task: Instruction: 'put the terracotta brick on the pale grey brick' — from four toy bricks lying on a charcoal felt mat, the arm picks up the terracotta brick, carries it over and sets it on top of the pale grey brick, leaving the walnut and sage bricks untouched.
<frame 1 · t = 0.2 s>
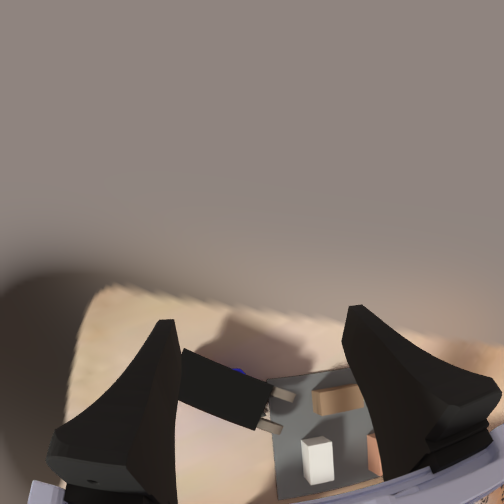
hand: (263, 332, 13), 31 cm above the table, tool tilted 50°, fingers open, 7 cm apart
felt mat: (341, 431, 39), on the table
pale grey brick: (313, 456, 38), resting on felt mat
terracotta brick: (377, 449, 38), resting on felt mat
walnut brick: (332, 397, 41), resting on felt mat
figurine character: (231, 390, 40), on the table, touching felt mat
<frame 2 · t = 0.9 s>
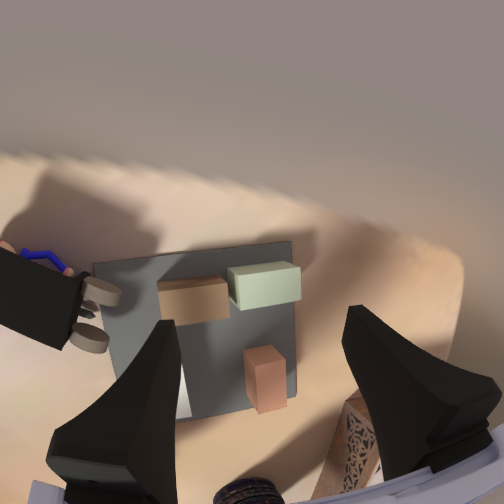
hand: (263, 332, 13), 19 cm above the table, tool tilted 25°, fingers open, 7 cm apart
felt mat: (204, 342, 32), on the table
pale grey brick: (167, 375, 31), resting on felt mat
sage brick: (256, 279, 33), resting on felt mat
terracotta brick: (258, 370, 34), resting on felt mat
walnut brick: (189, 294, 31), resting on felt mat
tissue box cover: (358, 454, 43), on the table
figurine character: (49, 281, 26), on the table, touching felt mat
storage jar: (244, 496, 37), on the table
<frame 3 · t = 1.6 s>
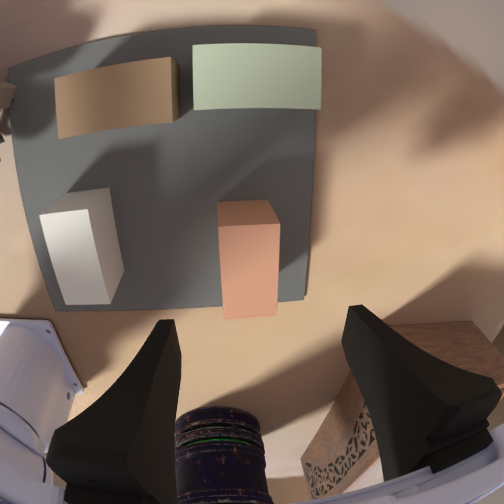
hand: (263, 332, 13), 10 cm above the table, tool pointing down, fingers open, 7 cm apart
felt mat: (153, 181, 19), on the table
pale grey brick: (95, 232, 20), resting on felt mat
sage brick: (249, 80, 17), resting on felt mat
terracotta brick: (243, 243, 21), resting on felt mat
walnut brick: (130, 96, 16), resting on felt mat
tissue box cover: (380, 400, 34), on the table
storage jar: (216, 428, 32), on the table
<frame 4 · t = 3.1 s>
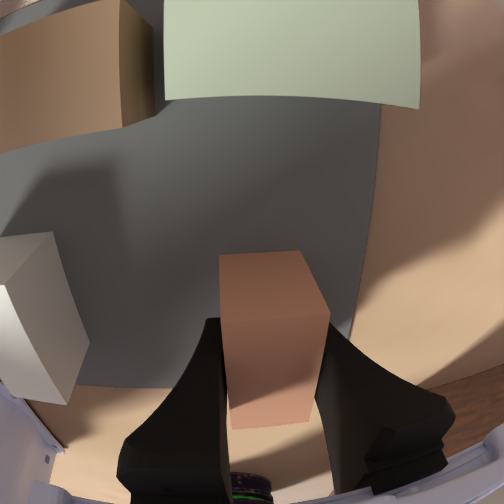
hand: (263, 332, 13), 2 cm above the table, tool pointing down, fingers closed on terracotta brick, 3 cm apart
felt mat: (117, 222, 12), on the table
pale grey brick: (43, 293, 12), resting on felt mat
sage brick: (274, 51, 9), resting on felt mat
terracotta brick: (259, 313, 14), resting on felt mat, touching gripper
walnut brick: (73, 85, 9), resting on felt mat
tissue box cover: (407, 449, 27), on the table
storage jar: (221, 486, 25), on the table
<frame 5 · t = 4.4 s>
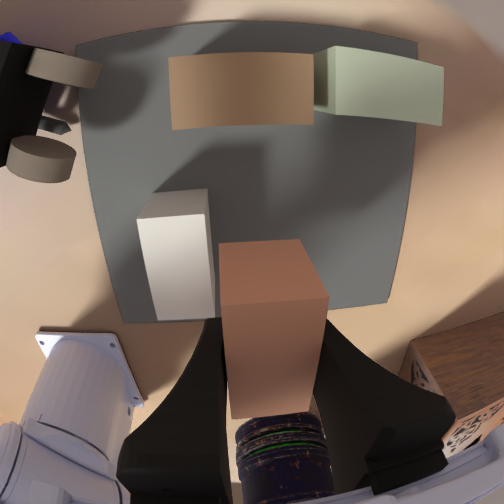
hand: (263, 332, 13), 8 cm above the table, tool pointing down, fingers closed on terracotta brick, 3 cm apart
felt mat: (257, 184, 18), on the table
pale grey brick: (184, 238, 19), resting on felt mat
sage brick: (361, 86, 16), resting on felt mat
terracotta brick: (259, 302, 14), point 7 cm above the table, touching gripper
walnut brick: (237, 90, 15), resting on felt mat
tissue box cover: (429, 396, 33), on the table
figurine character: (13, 85, 13), on the table, touching felt mat
storage jar: (278, 431, 32), on the table
when the fingers open (7 cm above the table, at t = 5.3 s): terracotta brick stays where it is, resting on pale grey brick.
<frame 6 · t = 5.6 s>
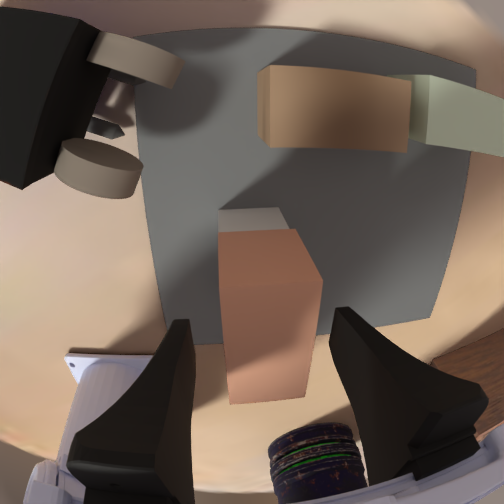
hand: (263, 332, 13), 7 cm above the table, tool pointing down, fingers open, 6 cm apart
felt mat: (328, 204, 18), on the table
pale grey brick: (249, 258, 18), resting on felt mat, touching terracotta brick
sage brick: (428, 110, 15), resting on felt mat
terracotta brick: (257, 291, 15), point 4 cm above the table, touching pale grey brick
walnut brick: (316, 105, 15), resting on felt mat
tissue box cover: (450, 403, 33), on the table
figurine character: (49, 78, 12), on the table, touching felt mat
storage jar: (310, 443, 31), on the table
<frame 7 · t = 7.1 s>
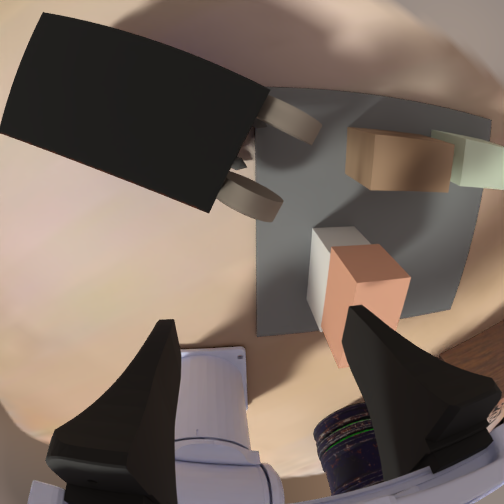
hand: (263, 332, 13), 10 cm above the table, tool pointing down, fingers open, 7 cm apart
felt mat: (386, 223, 23), on the table
pale grey brick: (329, 264, 24), resting on felt mat, touching terracotta brick
sage brick: (457, 153, 20), resting on felt mat
terracotta brick: (349, 287, 20), point 4 cm above the table, touching pale grey brick
walnut brick: (385, 152, 20), resting on felt mat
tissue box cover: (462, 387, 38), on the table
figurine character: (173, 109, 18), on the table, touching felt mat
storage jar: (348, 423, 36), on the table
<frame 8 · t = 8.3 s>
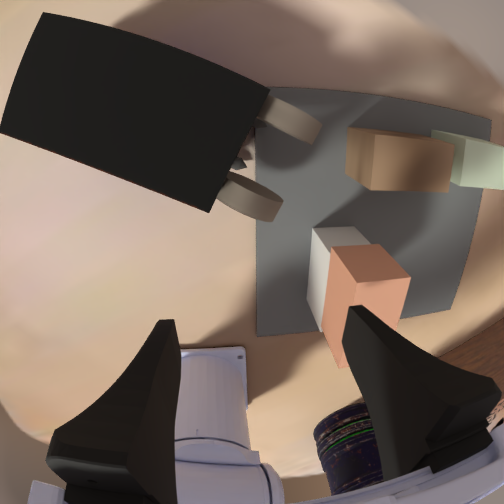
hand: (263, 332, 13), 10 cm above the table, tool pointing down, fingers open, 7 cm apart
felt mat: (386, 223, 23), on the table
pale grey brick: (329, 264, 24), resting on felt mat, touching terracotta brick
sage brick: (457, 153, 20), resting on felt mat
terracotta brick: (349, 287, 20), point 4 cm above the table, touching pale grey brick
walnut brick: (385, 152, 20), resting on felt mat
tissue box cover: (463, 387, 38), on the table
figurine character: (173, 109, 18), on the table, touching felt mat
storage jar: (348, 423, 36), on the table
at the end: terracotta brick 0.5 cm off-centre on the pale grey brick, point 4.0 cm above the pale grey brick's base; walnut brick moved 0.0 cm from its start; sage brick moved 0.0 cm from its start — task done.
